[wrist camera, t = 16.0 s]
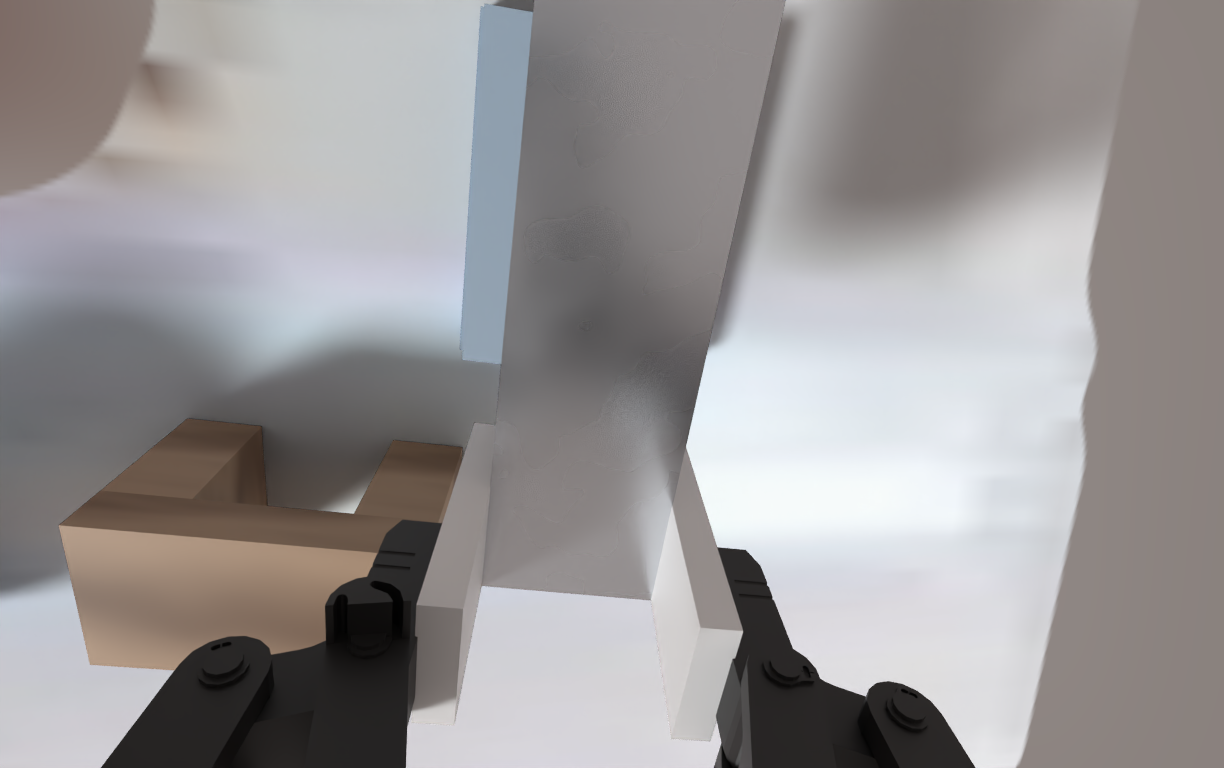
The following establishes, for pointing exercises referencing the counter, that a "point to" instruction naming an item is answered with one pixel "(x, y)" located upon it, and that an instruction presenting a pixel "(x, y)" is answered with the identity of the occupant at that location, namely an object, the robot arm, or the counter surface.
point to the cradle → (494, 177)
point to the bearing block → (228, 546)
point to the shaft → (616, 278)
